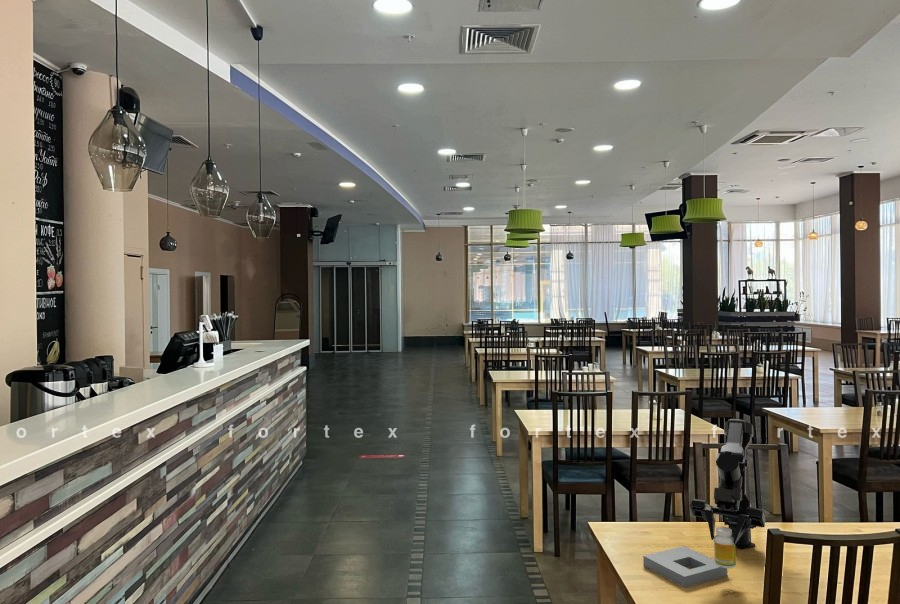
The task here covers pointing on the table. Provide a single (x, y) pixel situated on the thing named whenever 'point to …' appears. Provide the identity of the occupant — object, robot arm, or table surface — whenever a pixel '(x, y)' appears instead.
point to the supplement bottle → (724, 548)
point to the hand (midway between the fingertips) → (723, 541)
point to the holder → (684, 566)
